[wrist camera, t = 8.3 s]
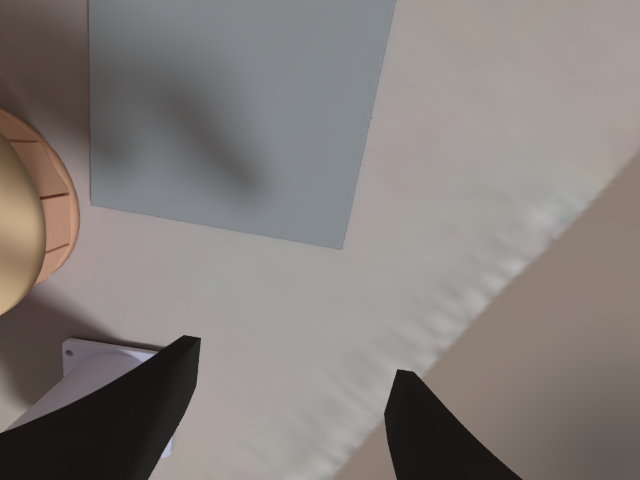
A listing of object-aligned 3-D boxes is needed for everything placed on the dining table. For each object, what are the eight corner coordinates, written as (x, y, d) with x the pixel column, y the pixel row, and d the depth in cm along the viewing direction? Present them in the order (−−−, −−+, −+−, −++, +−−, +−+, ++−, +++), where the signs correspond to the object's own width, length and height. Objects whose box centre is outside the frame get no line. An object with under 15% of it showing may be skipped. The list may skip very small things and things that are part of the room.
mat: (341, 248, 21) (342, 249, 21) (95, 204, 20) (90, 205, 20) (403, -38, 17) (405, -42, 16) (92, -109, 16) (87, -116, 15)
